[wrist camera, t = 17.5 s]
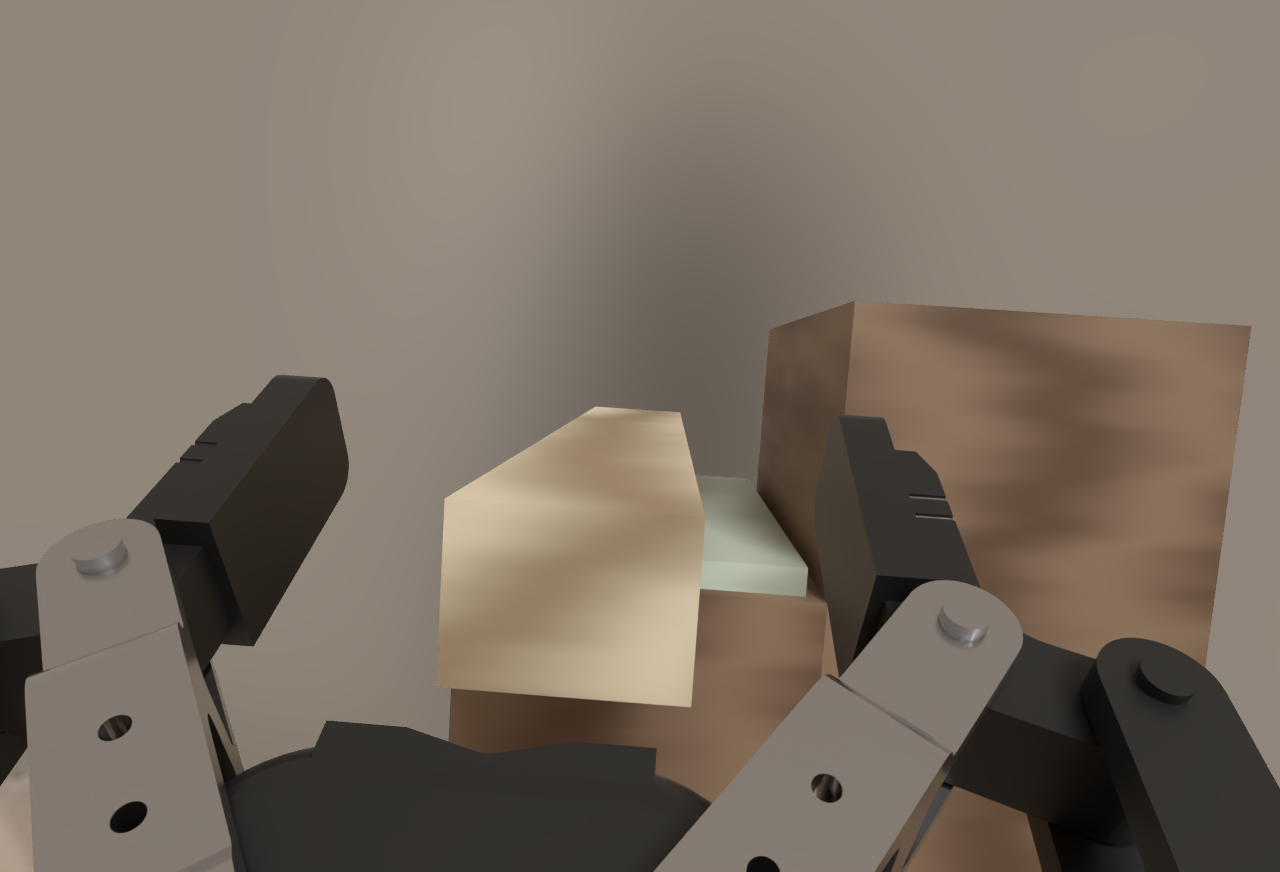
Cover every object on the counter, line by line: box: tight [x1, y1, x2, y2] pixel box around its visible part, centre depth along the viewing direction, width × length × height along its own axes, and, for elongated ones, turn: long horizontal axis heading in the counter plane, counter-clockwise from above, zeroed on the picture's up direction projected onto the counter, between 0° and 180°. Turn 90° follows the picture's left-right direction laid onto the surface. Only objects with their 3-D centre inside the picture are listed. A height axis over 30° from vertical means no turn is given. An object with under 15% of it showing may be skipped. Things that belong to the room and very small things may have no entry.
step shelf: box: [449, 301, 1251, 872], centre depth 31 cm, size 20×18×32 cm
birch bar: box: [436, 407, 705, 707], centre depth 25 cm, size 4×26×3 cm, turn 178°
